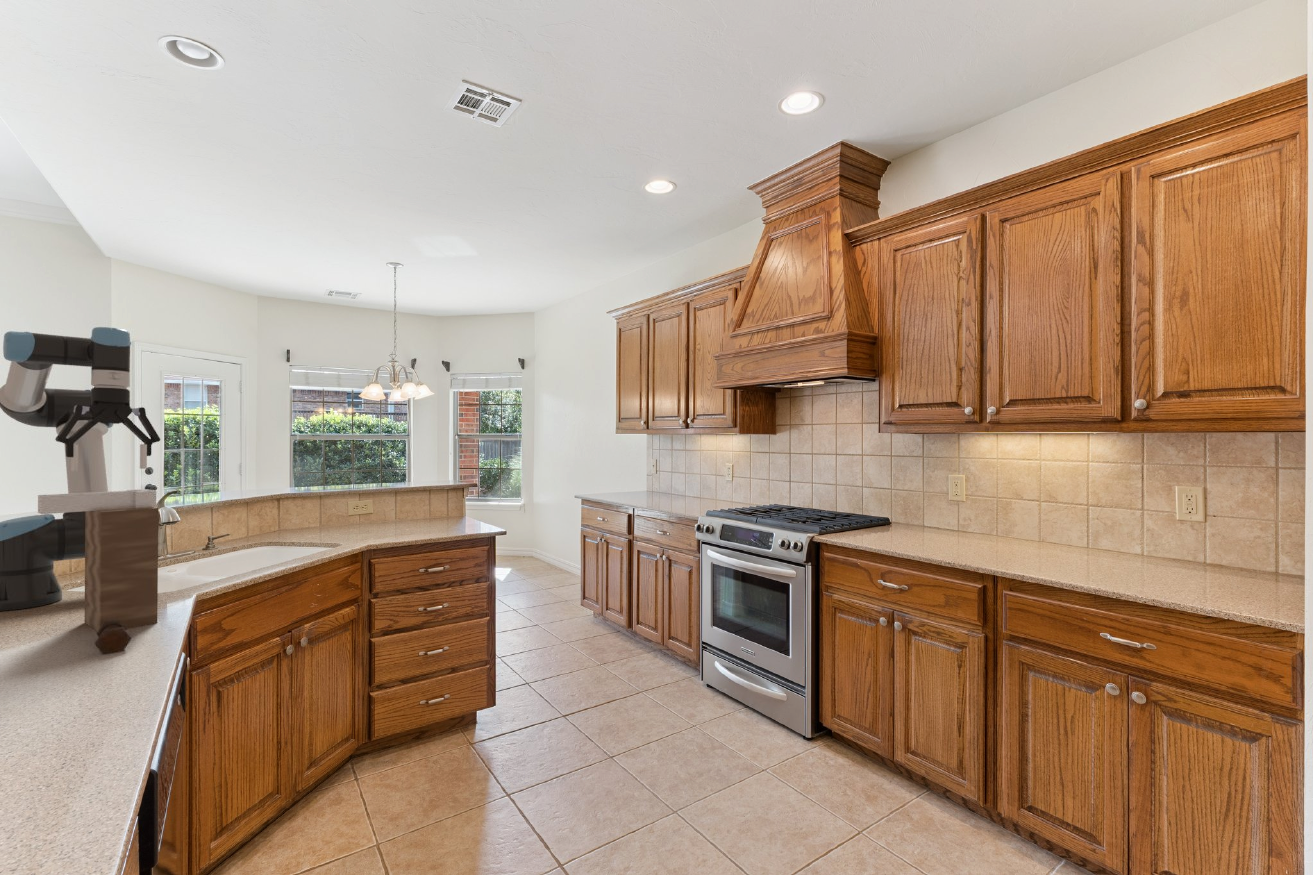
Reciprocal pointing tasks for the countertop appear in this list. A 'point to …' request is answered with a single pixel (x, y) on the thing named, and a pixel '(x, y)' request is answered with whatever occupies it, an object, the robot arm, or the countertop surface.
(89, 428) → the robot arm
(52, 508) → the steel block
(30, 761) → the countertop surface
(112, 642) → the bolt
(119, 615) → the wooden block
